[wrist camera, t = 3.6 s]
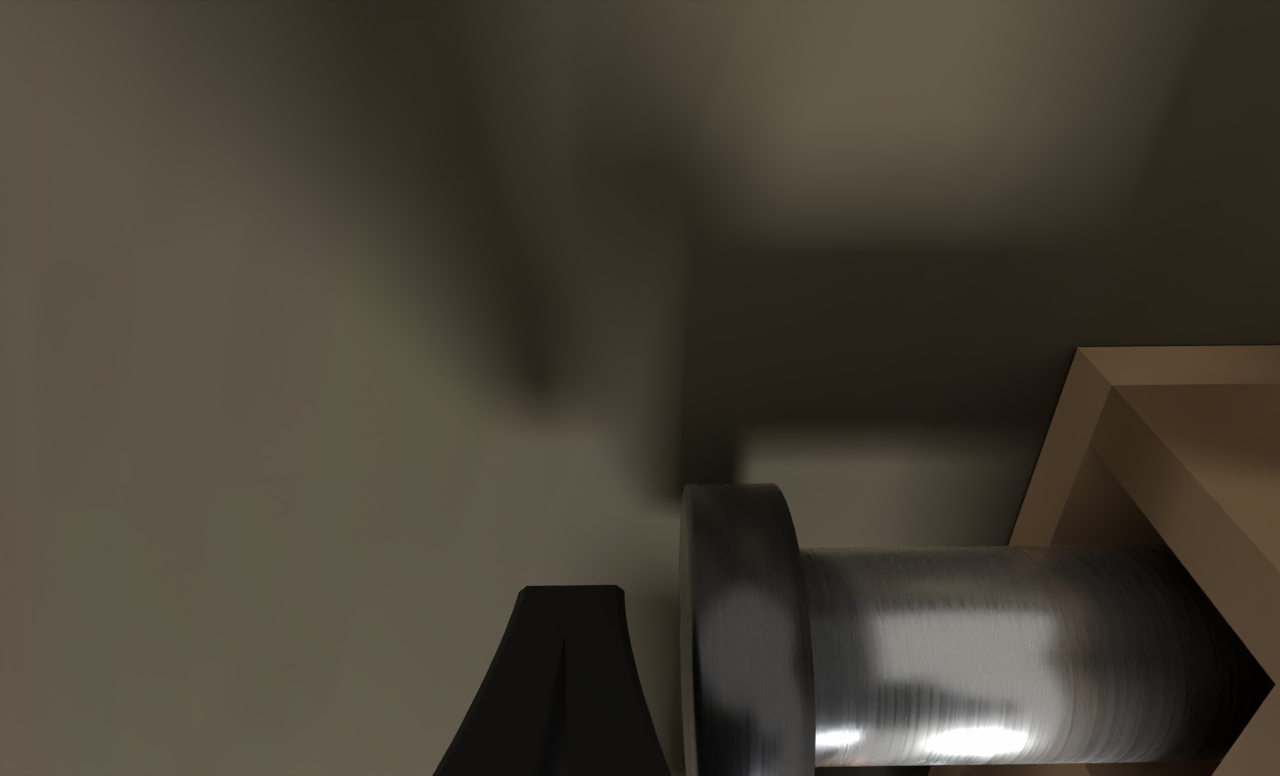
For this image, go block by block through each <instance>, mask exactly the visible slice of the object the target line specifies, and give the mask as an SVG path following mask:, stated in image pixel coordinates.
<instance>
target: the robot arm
mask: <svg viewBox="0 0 1280 776" xmlns="http://www.w3.org/2000/svg"><path fill="white" fill-rule="evenodd" d="M433 776H671V774H670V771H669V769H668V766H667V763H666V760H665V758H664V755H663V752H662V749H661V746H660V744H659V741H658V738H657V735H656V732H655V728H654V725H653V722H652V719H651V716H650V713H649V710H648V707H647V704H646V700H645V697H644V694H643V690H642V687H641V683H640V680H639V676H638V672H637V668H636V664H635V660H634V656H633V652H632V647H631V642H630V637H629V632H628V626H627V620H626V611H625V596H624V590H622V589H621V588H620V587H618V586H617V585H572V586H526V587H525V588H524V589H522V590H521V591H520V592H519V594H518V597H517V600H516V603H515V606H514V609H513V612H512V615H511V617H510V620H509V623H508V625H507V628H506V630H505V633H504V635H503V638H502V640H501V642H500V645H499V647H498V649H497V652H496V654H495V656H494V658H493V660H492V663H491V665H490V667H489V669H488V671H487V674H486V676H485V678H484V680H483V682H482V684H481V686H480V688H479V690H478V692H477V694H476V696H475V698H474V700H473V702H472V704H471V706H470V708H469V710H468V712H467V714H466V716H465V718H464V720H463V722H462V724H461V726H460V728H459V729H458V731H457V733H456V735H455V737H454V739H453V741H452V742H451V744H450V746H449V748H448V749H447V751H446V753H445V755H444V756H443V758H442V760H441V762H440V763H439V765H438V767H437V769H436V770H435V772H434V774H433Z"/></svg>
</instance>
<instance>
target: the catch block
mask: <svg viewBox="0 0 1280 776" xmlns="http://www.w3.org/2000/svg"><path fill="white" fill-rule="evenodd" d="M1119 544H1167V545H1168V546H1169V547H1170V548H1171V550H1172V551H1173V552H1174V554H1175V555H1176V556H1177V557H1178V559H1179V560H1180V561H1181V563H1182V564H1183V565H1184V567H1185V568H1186V569H1187V570H1188V572H1189V573H1190V574H1191V576H1192V577H1193V578H1194V579H1195V581H1196V582H1197V583H1198V585H1199V586H1200V587H1201V589H1202V590H1203V591H1204V592H1205V594H1206V595H1207V596H1208V598H1209V599H1210V600H1211V601H1212V603H1213V604H1214V605H1215V607H1216V608H1217V609H1218V611H1219V612H1220V613H1221V614H1222V616H1223V617H1224V618H1225V620H1226V621H1227V622H1228V623H1229V625H1230V626H1231V627H1232V629H1233V630H1234V631H1235V633H1236V634H1237V635H1238V636H1239V638H1240V639H1241V640H1242V642H1243V643H1244V644H1245V645H1246V647H1247V648H1248V649H1249V651H1250V652H1251V653H1252V655H1253V656H1254V657H1255V658H1256V660H1257V661H1258V662H1259V664H1260V665H1261V666H1262V667H1263V669H1264V670H1265V671H1266V675H1267V697H1266V699H1265V700H1264V702H1263V703H1262V705H1261V706H1260V707H1259V709H1258V710H1257V712H1256V713H1255V715H1254V716H1253V717H1252V719H1251V720H1250V722H1249V723H1248V725H1247V726H1246V727H1245V729H1244V730H1243V732H1242V733H1241V734H1240V736H1239V737H1238V739H1237V740H1236V742H1235V743H1234V744H1233V746H1232V747H1231V749H1230V750H1229V752H1228V753H1227V754H1226V756H1225V757H1224V759H1223V760H1222V761H1193V762H1123V763H1052V764H981V765H931V767H930V770H929V773H928V775H927V776H1280V345H1258V346H1153V347H1078V348H1077V351H1076V354H1075V356H1074V359H1073V362H1072V365H1071V368H1070V371H1069V373H1068V376H1067V379H1066V382H1065V385H1064V388H1063V391H1062V393H1061V396H1060V399H1059V402H1058V405H1057V408H1056V411H1055V413H1054V416H1053V419H1052V422H1051V425H1050V428H1049V431H1048V433H1047V436H1046V439H1045V442H1044V445H1043V448H1042V450H1041V453H1040V456H1039V459H1038V462H1037V465H1036V468H1035V470H1034V473H1033V476H1032V479H1031V482H1030V485H1029V488H1028V490H1027V493H1026V496H1025V499H1024V502H1023V505H1022V507H1021V510H1020V513H1019V516H1018V519H1017V522H1016V525H1015V527H1014V530H1013V533H1012V536H1011V539H1010V542H1009V545H1008V546H1034V545H1119Z"/></svg>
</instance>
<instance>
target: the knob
mask: <svg viewBox="0 0 1280 776" xmlns="http://www.w3.org/2000/svg"><path fill="white" fill-rule="evenodd" d="M679 621H680V665H681V694H682V717H683V736H684V753H685V768H686V776H814V775H815V767H840V766H910V765H981V764H1052V763H1123V762H1193V761H1222V760H1223V759H1224V757H1225V756H1226V754H1227V753H1228V752H1229V750H1230V749H1231V747H1232V746H1233V744H1234V743H1235V742H1236V740H1237V739H1238V737H1239V736H1240V734H1241V733H1242V732H1243V730H1244V729H1245V727H1246V726H1247V725H1248V723H1249V722H1250V720H1251V719H1252V717H1253V716H1254V715H1255V713H1256V712H1257V710H1258V709H1259V707H1260V706H1261V705H1262V703H1263V702H1264V700H1265V699H1266V697H1267V675H1266V671H1265V670H1264V669H1263V667H1262V666H1261V665H1260V664H1259V662H1258V661H1257V660H1256V658H1255V657H1254V656H1253V655H1252V653H1251V652H1250V651H1249V649H1248V648H1247V647H1246V645H1245V644H1244V643H1243V642H1242V640H1241V639H1240V638H1239V636H1238V635H1237V634H1236V633H1235V631H1234V630H1233V629H1232V627H1231V626H1230V625H1229V623H1228V622H1227V621H1226V620H1225V618H1224V617H1223V616H1222V614H1221V613H1220V612H1219V611H1218V609H1217V608H1216V607H1215V605H1214V604H1213V603H1212V601H1211V600H1210V599H1209V598H1208V596H1207V595H1206V594H1205V592H1204V591H1203V590H1202V589H1201V587H1200V586H1199V585H1198V583H1197V582H1196V581H1195V579H1194V578H1193V577H1192V576H1191V574H1190V573H1189V572H1188V570H1187V569H1186V568H1185V567H1184V565H1183V564H1182V563H1181V561H1180V560H1179V559H1178V557H1177V556H1176V555H1175V554H1174V552H1173V551H1172V550H1171V548H1170V547H1169V546H1168V545H1167V544H1119V545H1034V546H949V547H863V548H799V546H798V542H797V537H796V533H795V529H794V525H793V521H792V518H791V514H790V511H789V508H788V505H787V502H786V500H785V498H784V496H783V494H782V492H781V490H780V489H779V487H778V486H777V485H775V484H687V485H685V487H684V490H683V497H682V506H681V521H680V553H679Z"/></svg>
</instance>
